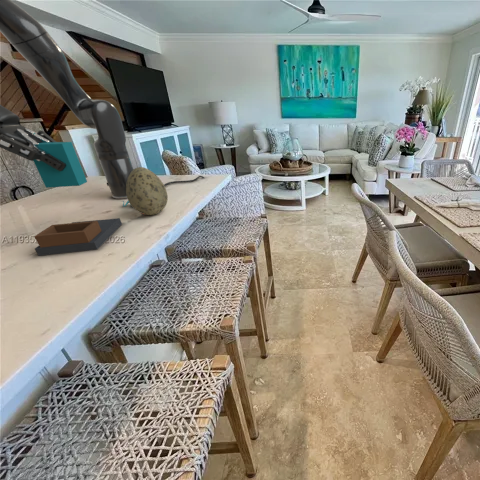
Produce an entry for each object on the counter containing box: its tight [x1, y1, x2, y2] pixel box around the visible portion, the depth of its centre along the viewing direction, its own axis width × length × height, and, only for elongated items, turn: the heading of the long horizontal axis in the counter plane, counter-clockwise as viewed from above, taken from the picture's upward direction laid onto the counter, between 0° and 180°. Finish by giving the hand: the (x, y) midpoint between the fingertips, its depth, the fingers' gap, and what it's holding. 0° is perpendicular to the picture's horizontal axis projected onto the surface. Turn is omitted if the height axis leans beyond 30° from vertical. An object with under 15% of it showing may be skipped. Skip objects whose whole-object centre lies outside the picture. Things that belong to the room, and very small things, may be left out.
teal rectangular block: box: [33, 141, 88, 188], centre depth 65 cm, size 4×7×10 cm, turn 105°
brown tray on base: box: [33, 217, 123, 257], centre depth 69 cm, size 16×12×5 cm
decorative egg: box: [126, 166, 169, 216], centre depth 83 cm, size 11×11×15 cm
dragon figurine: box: [121, 200, 130, 207], centre depth 92 cm, size 6×7×8 cm
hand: (69, 166), depth 65 cm, fingers closed on teal rectangular block, 4 cm apart
